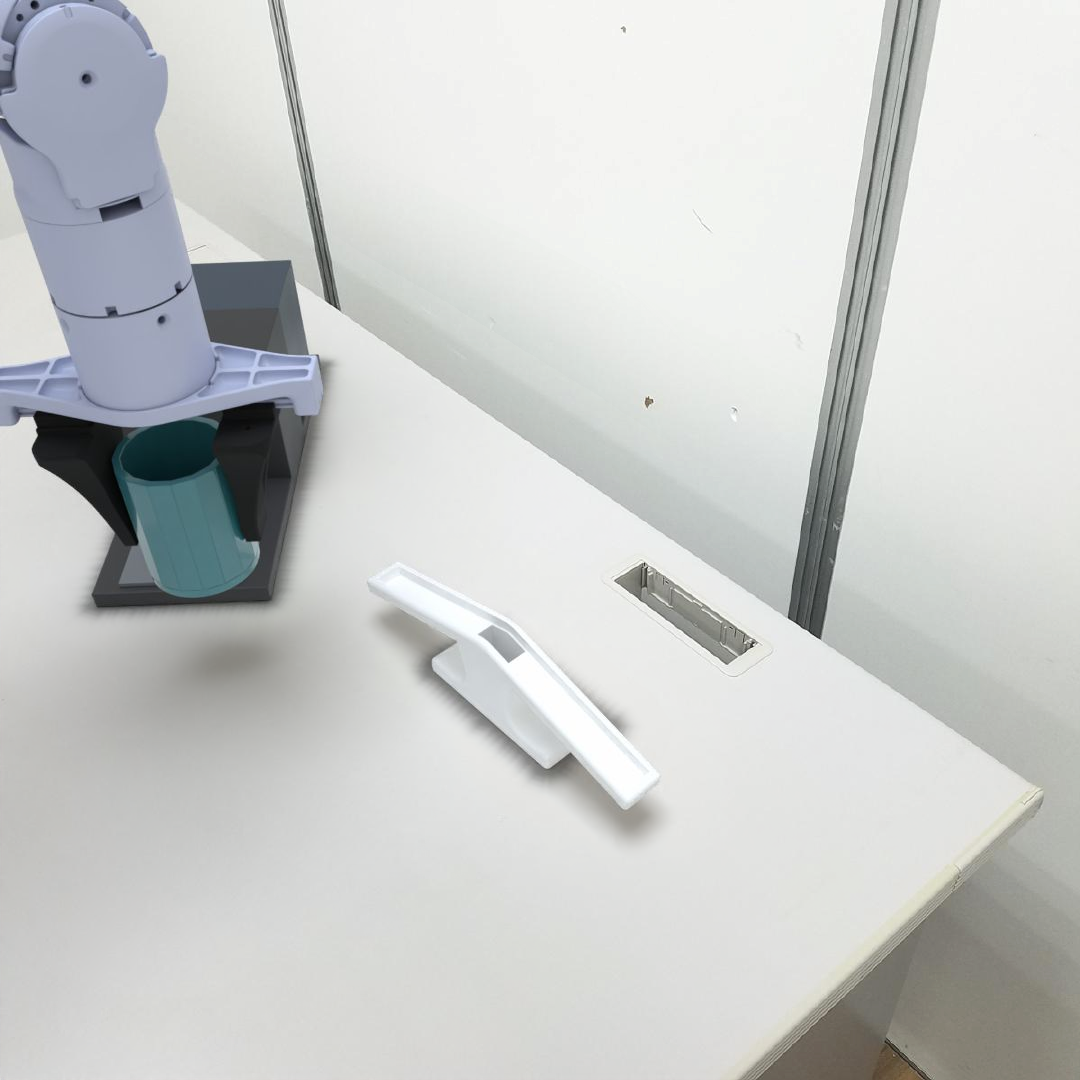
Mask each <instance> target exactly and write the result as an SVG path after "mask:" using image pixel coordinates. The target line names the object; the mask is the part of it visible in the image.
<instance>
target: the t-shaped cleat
mask: <svg viewBox="0 0 1080 1080" xmlns="http://www.w3.org/2000/svg"><path fill="white" fill-rule="evenodd" d="M366 584H367V587H368V590H369V592H370V593H371V594H373V595H375V596H377V597H378V598H380V599H381V600H383V601H385V602H387V603H388V604H391V605H392V606H394V607H396V608H397V609H400V610H401V611H403V612H405V614H408V615H410V616H411V617H413V618H415V619H417V620H419V621H420V622H422V623H424V624H426V625H428V626H430V627H431V628H433V629H434V630H437V631H438V632H440V633H441V634H444V635H445V636H447V637H449V638H450V639H452V640H454V641H456V642H455V643H454V644H452V645H451V646H449V647H447V648H446V649H445V650H443V651H441V652H440V653H438V654H437V655H435V656H433V657H432V658H431V667H432V670H433V672H434V673H436V674H437V676H439V677H440V678H441V679H442V680H443V681H444V682H445V683H447V684H448V685H449V686H450V687H451V688H453V689H454V690H455V691H456V692H457V693H458V694H459V695H460V696H461V697H462V698H464V699H465V700H466V701H467V702H468V703H469V704H470V705H472V706H473V707H474V708H475V709H476V710H478V711H479V713H481V714H482V715H483V716H485V717H486V718H487V719H488V720H489V721H490V722H491V723H492V724H494V725H495V727H497V728H498V729H499V730H500V731H501V732H502V733H504V734H505V735H506V736H507V737H508V738H510V739H511V740H512V741H513V742H514V743H515V744H516V745H517V746H518V747H519V748H521V749H522V750H523V751H524V752H525V753H526V754H528V756H529V757H531V758H532V759H533V760H534V761H536V762H537V763H538V764H539V765H540V766H541V767H542V768H543V769H546V770H549V769H551V768H552V767H553V766H555V765H556V764H558V763H559V762H560V761H562V759H564V758H566V757H567V756H568V755H570V754H572V755H573V756H574V758H576V760H577V761H578V762H579V763H580V764H581V765H582V766H583V768H584V769H585V770H586V771H587V772H588V773H589V774H590V775H591V776H592V777H593V778H594V780H595V781H597V783H598V784H599V785H600V786H601V787H602V788H603V789H604V790H605V791H606V792H607V793H608V794H609V796H610V797H611V798H612V799H613V800H614V801H615V802H616V804H618V806H619V807H620V808H622V809H623V810H625V811H626V810H629V809H630V808H631V807H633V806H634V805H635V804H636V803H638V801H640V800H642V798H643V797H645V796H646V795H647V794H649V792H651V791H652V790H653V789H654V788H655V787H657V786H658V785H659V783H660V781H661V778H662V775H661V773H660V772H658V770H657V769H656V768H655V767H654V766H653V765H652V764H651V763H650V762H649V761H648V760H647V758H646V757H644V755H643V754H642V753H640V751H639V750H638V749H637V748H636V747H635V746H634V745H633V744H632V743H631V742H630V741H629V740H628V739H627V738H626V737H625V736H624V734H622V732H620V731H619V729H618V728H617V727H616V726H615V724H613V723H612V722H611V721H610V720H609V719H608V718H607V717H606V715H604V714H603V712H602V711H601V710H600V709H599V708H598V707H597V706H596V705H595V704H594V702H592V701H591V699H590V698H589V697H588V696H587V695H586V694H585V693H583V691H582V690H581V689H580V688H579V687H578V686H577V685H576V684H575V683H574V682H573V681H572V680H571V679H570V677H568V675H567V674H566V673H564V671H563V670H561V668H560V667H559V666H558V665H557V664H556V663H555V662H554V661H553V660H552V659H551V658H550V657H549V655H547V654H546V652H545V651H544V650H543V649H542V648H541V647H540V646H539V645H538V643H536V642H535V641H534V639H532V638H531V637H530V635H528V633H527V632H526V631H525V630H524V629H523V628H521V627H520V625H518V624H517V623H515V622H514V621H513V620H512V619H511V618H509V617H507V616H505V615H503V614H501V613H500V612H497V611H495V610H494V609H491V608H489V607H488V606H485V605H484V604H482V603H480V602H478V601H476V600H474V599H472V598H470V597H468V596H466V595H464V594H462V593H460V592H459V591H456V590H454V589H453V588H450V587H448V586H446V585H444V584H443V583H441V582H439V581H437V580H435V579H433V578H431V577H429V576H427V575H425V574H423V573H421V572H419V571H417V570H415V569H414V568H412V567H410V566H408V565H406V564H404V563H402V562H400V561H396V562H395V563H393V564H391V565H390V566H388V567H386V568H384V569H383V570H381V571H380V572H378V573H376V574H374V575H373V576H371V577H369V578H368V579H367V581H366Z"/></svg>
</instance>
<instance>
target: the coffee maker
mask: <svg viewBox="0 0 1080 1080" xmlns="http://www.w3.org/2000/svg"><path fill="white" fill-rule="evenodd" d="M190 264H191V267H192V272H193V276H194V280H195V284H196V288H197V291H198V295H199V299H200V303H201V307H202V311H203V315H204V319H205V323H206V327H207V330H208V334H209V338H210V342H213V343H219V344H225V345H231V346H237V347H243V348H248V349H254V350H260V351H266V352H272V353H278V354H286V355H310V351H309V348H308V347H309V346H308V343H307V337H306V332H305V326H304V321H303V315H302V310H301V304H300V300H299V295H298V288H297V284H296V279H295V273H294V268H293V263H292V260H291V259H282V260H281V259H280V260H279V259H278V260H258V261H257V260H256V261H253V260H252V261H229V262H227V261H226V262H205V263H203V262H201V263H190ZM314 355H316V356H317V358H318V364H319V369H320V370H321V365H322V364H321V359H320V355H319V354H318V353H316V354H315V353H314ZM222 416H223V413H222V410H221V411H216V412H212V413H208V414H203V415H199V417H204V418H208V419H213V420H215V421H217V422H218V423H219V422H220V421H221V419H222ZM310 416H311V415H306V416H299V415H296V414H295V412H294V408H281V410H280V414H279V418H278V422H277V426H276V430H275V434H274V438H273V441H272V445H271V448H270V453H269V459H268V467H267V478H266V508H267V520H266V524H265V528H264V532H263V536H262V540H261V541H259V549H260V554H259V559H258V562H257V565H256V566H255V568H254V570H253V571H252V572H251V573H250V574H249V576H248V577H247V578H245V579H244V580H243V581H242V582H240V583H239V584H237V585H236V586H234V587H232V588H230V589H228V590H226V591H224V592H221V593H218V594H215V595H211V596H205V597H197V598H187V597H179V596H175V595H172V594H169V593H167V592H165V591H163V590H162V589H161V588H159V587H158V586H157V585H156V584H155V582H154V581H153V579H152V576H151V575H150V572H149V569H148V566H147V563H146V561H145V558H144V555H143V552H142V549H141V546H140V544H139V543H138V546H125V545H124V544H123V543H122V542H121V540H120V539H119V538H118V536H117V535H116V534H115V533H114V534H113V538H112V540H111V543H110V545H109V548H108V550H107V553H106V556H105V558H104V561H103V564H102V566H101V569H100V571H99V574H98V576H97V580H96V582H95V585H94V587H93V590H92V593H91V597H92V599H93V602H94V605H95V606H96V607H117V606H118V607H119V606H142V605H143V606H144V605H146V606H147V605H170V604H194V603H196V604H197V603H219V602H220V603H221V602H222V603H223V602H244V601H245V602H246V601H270V600H271V599H272V595H273V591H274V585H275V581H276V577H277V572H278V567H279V562H280V558H281V554H282V548H283V544H284V539H285V534H286V531H287V525H288V521H289V515H290V511H291V506H292V503H293V502H292V501H293V496H294V493H295V489H296V485H297V480H298V479H297V478H298V473H299V469H300V464H301V460H302V455H303V450H304V446H305V441H306V436H307V431H308V428H309V427H308V426H309V422H310V418H311V417H310ZM138 428H140V427H122V432H123V437H124V438H125V437H126V436H127V435H128V434H130V433H131V432H132V431H134V430H136V429H138Z"/></svg>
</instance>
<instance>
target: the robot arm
mask: <svg viewBox="0 0 1080 1080" xmlns="http://www.w3.org/2000/svg"><path fill="white" fill-rule="evenodd" d="M127 8H128V6H126V5H125V3H123V2H122V1H120V0H0V149H1V151H2V154H3V157H4V159H5V163H6V165H7V168H8V171H9V174H10V177H11V179H12V188H13V194H14V199H15V201H16V204H17V207H18V209H19V212H20V215H21V217H22V220H23V223H24V226H25V229H26V231H27V234H28V237H29V241H30V243H31V246H32V249H33V252H34V254H35V258H36V260H37V263H38V266H39V268H40V271H41V274H42V277H43V280H44V284H45V285H46V288H47V291H48V294H49V298H50V301H51V304H52V306H53V310H54V311H55V316H56V318H57V321H58V324H59V326H60V328H61V332H62V335H63V338H64V340H65V343H66V347H67V349H68V352H69V354H67V355H66V354H65V355H61V356H57V357H52V358H47V359H42V360H39V361H33V362H28V363H22V364H21V363H20V364H14V365H13V364H12V365H0V427H12V426H15V425H17V424H18V423H19V422H20V420H21V418H33V421H34V423H35V426H36V428H35V432H36V438H35V439H34V442H33V444H32V446H31V454H32V455H33V458H34V460H35V462H36V464H37V465H38V467H40V468H42V469H44V470H46V471H47V472H49V473H50V474H53V475H54V476H56V477H57V478H59V479H60V480H62V481H63V482H64V483H66V484H67V485H69V486H70V487H71V488H73V490H74V491H76V492H77V493H78V494H80V495H81V496H82V497H83V498H84V499H85V500H86V501H87V502H88V503H89V504H90V505H91V507H93V508H94V509H95V510H96V512H97V513H98V514H99V515H100V516H101V517H102V519H103V520H104V521H105V522H106V524H107V525H108V526H109V527H110V528H111V530H112V531H113V532H114V535H115V534H116V535H117V536H118V538H119V539H120V540H121V542H122V543H123V544H124V545H125V546H138V543H139V541H138V538H137V535H136V532H135V529H134V527H133V524H132V521H131V518H130V515H129V512H128V509H127V507H126V504H125V501H124V498H123V495H122V492H121V490H120V487H119V484H118V481H117V478H116V475H115V473H114V469H113V465H112V461H111V458H112V456H113V454H114V451H115V449H116V447H117V445H118V444H119V443H120V442H121V441H122V440H123V439H124V437H123V432H122V427H147V426H154V425H160V424H165V423H169V422H173V421H178V420H182V419H186V418H190V417H195V416H199V415H203V414H208V413H212V412H216V411H221V410H222V413H223V416H222V419H221V421H220V422H219V425H218V428H217V432H216V435H215V438H214V441H213V444H212V451H213V454H214V456H215V457H216V459H217V460H218V462H219V464H220V465H221V467H222V469H223V471H224V473H225V475H226V477H227V480H228V482H229V484H230V487H231V489H232V492H233V495H234V498H235V501H236V506H237V511H238V516H239V520H240V525H241V529H242V532H243V535H244V537H245V539H246V541H247V542H259V541H261V540H262V536H263V532H264V528H265V524H266V520H267V508H266V478H267V467H268V459H269V453H270V448H271V445H272V441H273V438H274V434H275V430H276V426H277V422H278V418H279V414H280V410H281V408H294V412H295V414H296V415H299V416H306V415H310V416H319V413H320V408H321V404H322V400H323V395H324V386H323V380H322V376H321V375H322V374H321V368H320V369H319V364H318V358H317V356H316V355H315V354H309V355H286V354H278V353H272V352H266V351H260V350H254V349H248V348H243V347H237V346H231V345H225V344H219V343H213V342H210V338H209V334H208V330H207V327H206V323H205V319H204V315H203V311H202V307H201V303H200V299H199V295H198V291H197V288H196V284H195V280H194V276H193V272H192V267H191V264H192V263H191V260H190V256H189V252H188V248H187V245H186V244H187V243H186V240H185V236H184V232H183V229H182V225H181V221H180V217H179V214H178V210H177V204H176V202H175V197H174V193H173V190H172V185H171V181H170V178H169V173H168V170H167V167H166V164H165V163H164V161H163V156H162V152H161V149H160V145H159V141H158V137H157V133H156V128H157V124H158V123H159V120H160V118H161V116H162V113H163V111H164V108H165V104H166V100H167V95H168V89H169V71H168V63H167V62H168V61H167V58H166V56H165V55H163V54H162V53H157V51H155V50H154V48H153V44H152V42H151V39H150V37H149V35H148V33H147V31H146V29H145V27H143V25H142V23H141V21H140V20H139V19H138V17H137V16H136V15H134V14H133V13H131V11H129V9H127Z"/></svg>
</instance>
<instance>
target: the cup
mask: <svg viewBox="0 0 1080 1080" xmlns="http://www.w3.org/2000/svg"><path fill="white" fill-rule="evenodd" d="M218 425H219V423H218V422H217V421H215V420H213V419H208V418H204V417H199V416H195V417H190V418H186V419H182V420H178V421H173V422H169V423H165V424H160V425H154V426H147V427H140V428H138V429H136V430H134V431H132V432H131V433H130V434H128V435H127V436H126V437H125V438H124V439H123V440H122V441H121V442H120V443H119V444H118V445H117V447H116V449H115V451H114V454H113V456H112V458H111V461H112V465H113V469H114V473H115V475H116V478H117V481H118V484H119V487H120V490H121V492H122V495H123V498H124V501H125V504H126V507H127V509H128V512H129V515H130V518H131V521H132V524H133V527H134V529H135V532H136V535H137V538H138V541H139V544H140V546H141V549H142V552H143V555H144V558H145V561H146V563H147V566H148V569H149V572H150V575H151V576H152V579H153V581H154V582H155V584H156V585H157V586H158V587H159V588H161V589H162V590H163V591H165V592H167V593H169V594H172V595H175V596H179V597H187V598H197V597H205V596H211V595H215V594H218V593H221V592H224V591H226V590H228V589H230V588H232V587H234V586H236V585H237V584H239V583H240V582H242V581H243V580H244V579H245V578H247V577H248V576H249V574H250V573H251V572H252V571H253V570H254V568H255V566H256V565H257V562H258V559H259V554H260V549H259V542H247V541H246V539H245V537H244V535H243V532H242V529H241V525H240V520H239V516H238V511H237V506H236V501H235V498H234V495H233V492H232V489H231V487H230V484H229V482H228V480H227V477H226V475H225V473H224V471H223V469H222V467H221V465H220V464H219V462H218V460H217V459H216V457H215V456H214V454H213V451H212V444H213V441H214V438H215V435H216V432H217V428H218Z"/></svg>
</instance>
